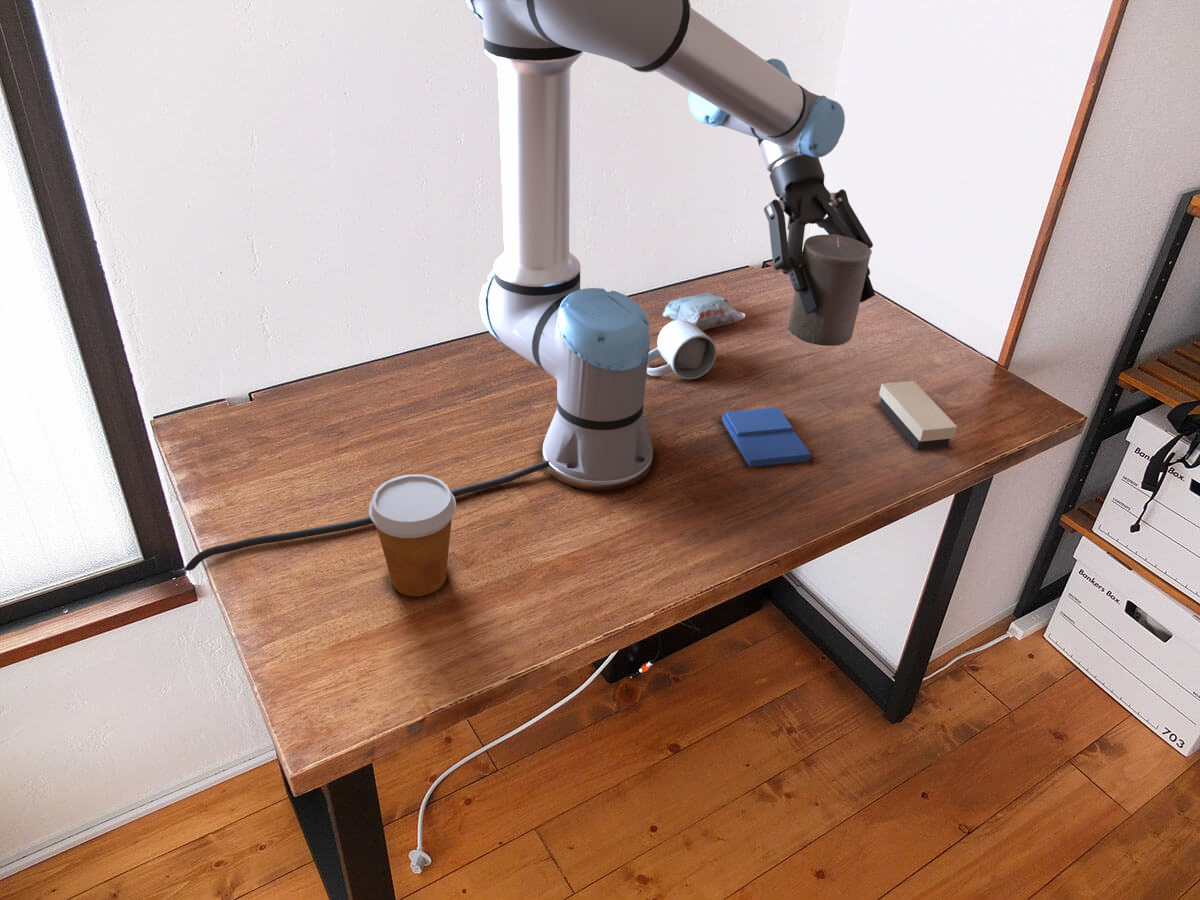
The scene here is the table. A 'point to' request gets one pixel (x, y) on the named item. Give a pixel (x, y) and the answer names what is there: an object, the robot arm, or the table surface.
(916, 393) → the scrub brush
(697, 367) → the ceramic mug
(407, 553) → the disposable coffee cup
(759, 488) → the table surface
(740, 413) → the blue dish cloth
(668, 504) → the table surface
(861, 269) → the pillar candle
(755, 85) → the robot arm
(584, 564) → the table surface
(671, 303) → the packaged food
